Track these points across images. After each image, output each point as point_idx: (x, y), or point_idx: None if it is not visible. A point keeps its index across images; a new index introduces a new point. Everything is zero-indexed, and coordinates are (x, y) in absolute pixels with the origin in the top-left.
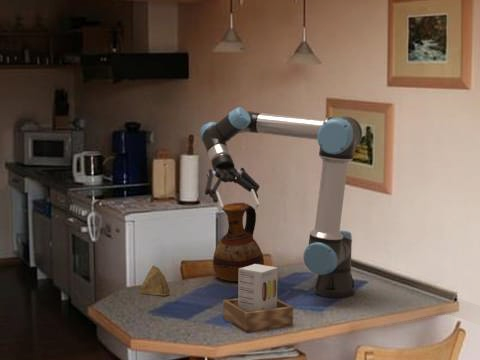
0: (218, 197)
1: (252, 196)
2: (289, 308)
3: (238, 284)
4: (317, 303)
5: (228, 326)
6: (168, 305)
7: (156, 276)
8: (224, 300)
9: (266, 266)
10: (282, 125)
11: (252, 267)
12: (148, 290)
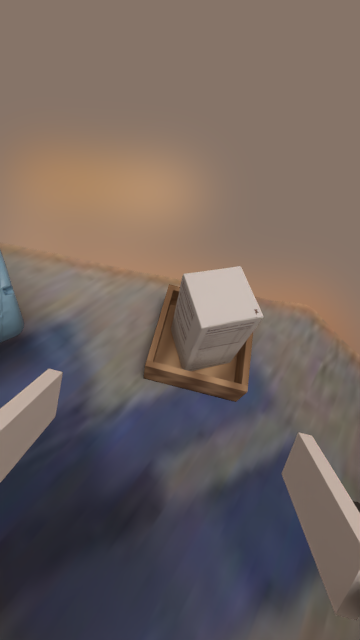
0: (346, 496)
1: (12, 441)
2: (175, 286)
3: (251, 333)
4: (24, 359)
5: (251, 360)
6: (293, 575)
7: None
8: (245, 389)
9: (198, 291)
10: None
11: (232, 302)
12: None
